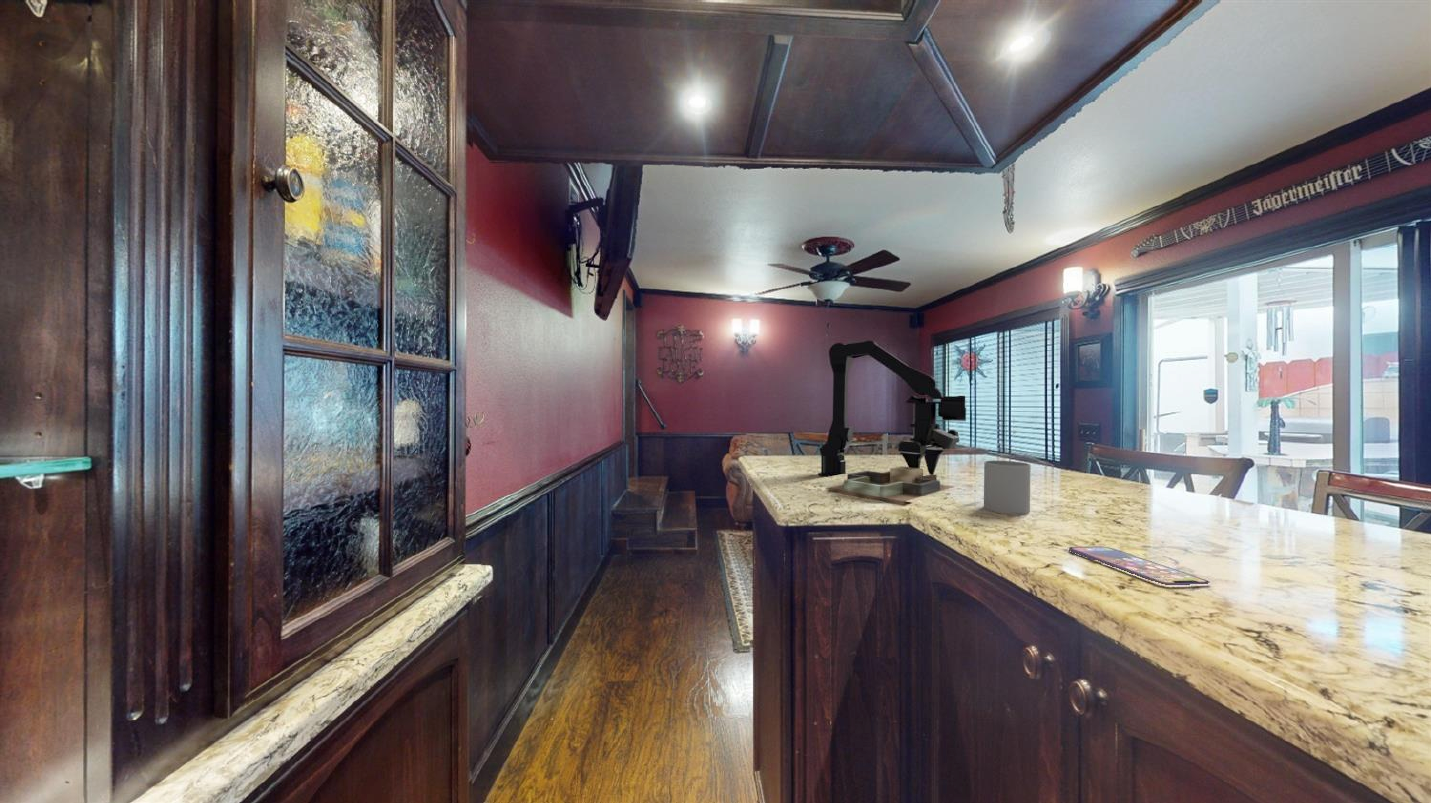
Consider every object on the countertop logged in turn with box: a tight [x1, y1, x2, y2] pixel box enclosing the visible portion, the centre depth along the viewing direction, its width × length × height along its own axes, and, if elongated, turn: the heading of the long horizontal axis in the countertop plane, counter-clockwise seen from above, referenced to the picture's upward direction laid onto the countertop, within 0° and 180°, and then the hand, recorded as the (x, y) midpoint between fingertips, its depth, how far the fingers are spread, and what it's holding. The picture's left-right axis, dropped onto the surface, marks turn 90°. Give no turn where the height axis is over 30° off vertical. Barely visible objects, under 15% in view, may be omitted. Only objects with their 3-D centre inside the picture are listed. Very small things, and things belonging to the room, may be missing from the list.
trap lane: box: [827, 470, 954, 507], centre depth 122 cm, size 20×26×4 cm
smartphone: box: [1068, 546, 1210, 585], centre depth 69 cm, size 1×7×15 cm
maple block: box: [889, 465, 924, 484], centre depth 127 cm, size 6×6×4 cm
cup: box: [983, 460, 1032, 516], centre depth 102 cm, size 8×8×10 cm
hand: (923, 476), depth 133 cm, fingers open, 9 cm apart
